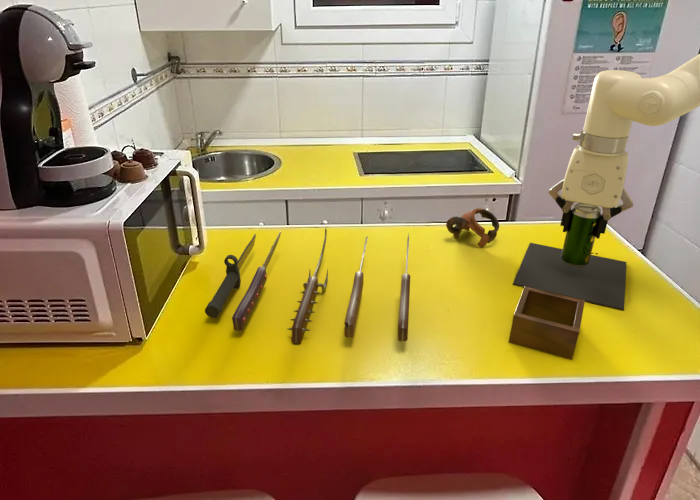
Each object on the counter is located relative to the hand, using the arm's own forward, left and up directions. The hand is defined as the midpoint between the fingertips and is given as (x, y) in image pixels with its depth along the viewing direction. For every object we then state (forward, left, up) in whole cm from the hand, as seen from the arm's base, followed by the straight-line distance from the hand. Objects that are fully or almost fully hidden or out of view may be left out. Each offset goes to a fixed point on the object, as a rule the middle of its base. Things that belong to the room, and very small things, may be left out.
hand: (581, 231), depth 102 cm
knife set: (+43, +30, -10) cm, 53 cm away
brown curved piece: (+23, -6, -10) cm, 26 cm away
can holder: (+2, +24, -10) cm, 26 cm away
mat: (0, 0, -10) cm, 10 cm away
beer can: (0, 0, -7) cm, 7 cm away
